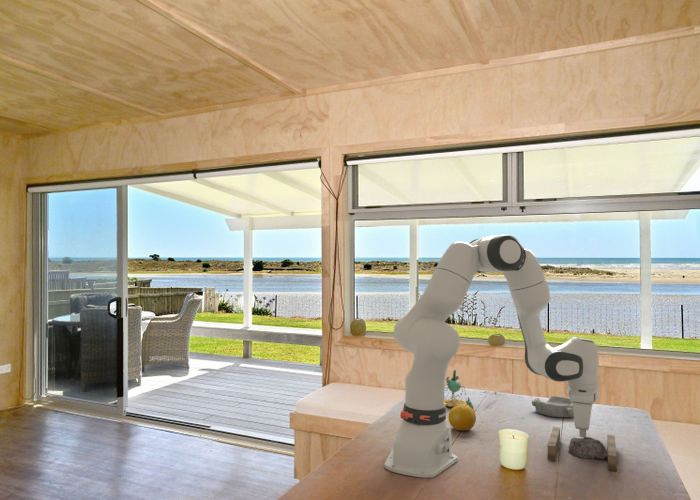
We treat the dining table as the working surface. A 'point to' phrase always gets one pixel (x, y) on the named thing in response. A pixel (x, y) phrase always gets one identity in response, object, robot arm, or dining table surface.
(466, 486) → the dining table surface
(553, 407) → the dish
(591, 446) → the rock
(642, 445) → the dining table surface
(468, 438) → the dining table surface
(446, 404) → the green and yellow piece
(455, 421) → the fruit
